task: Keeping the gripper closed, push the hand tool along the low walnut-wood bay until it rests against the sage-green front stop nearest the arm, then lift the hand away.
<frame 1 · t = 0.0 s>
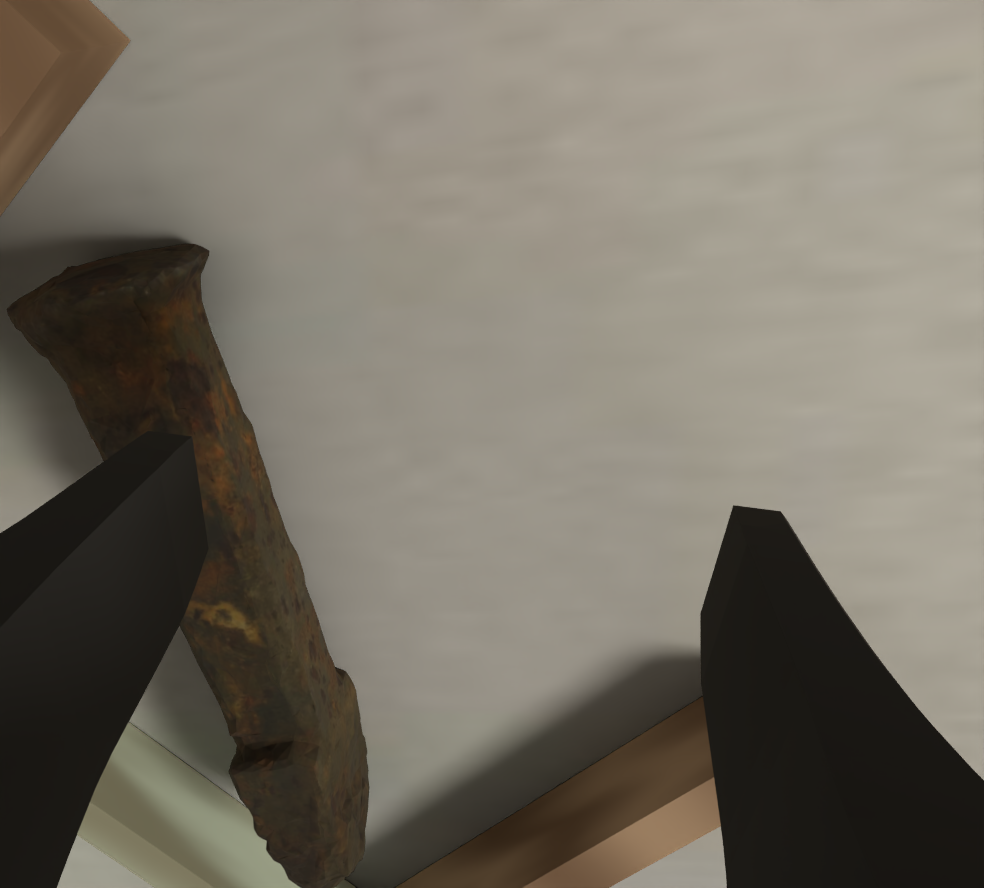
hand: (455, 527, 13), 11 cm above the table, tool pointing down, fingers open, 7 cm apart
bay: (263, 583, 27), on the table
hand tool: (289, 554, 27), on the table
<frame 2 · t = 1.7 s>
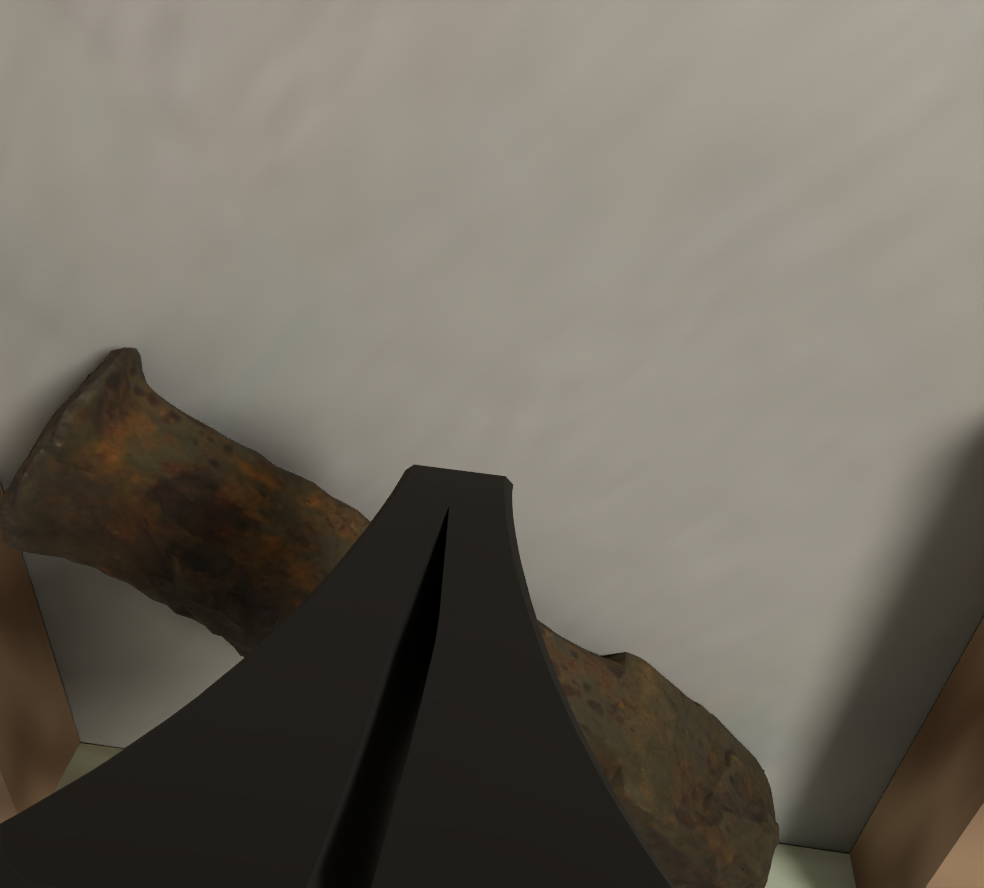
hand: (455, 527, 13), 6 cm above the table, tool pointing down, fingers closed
bay: (475, 615, 22), on the table
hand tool: (477, 572, 22), on the table
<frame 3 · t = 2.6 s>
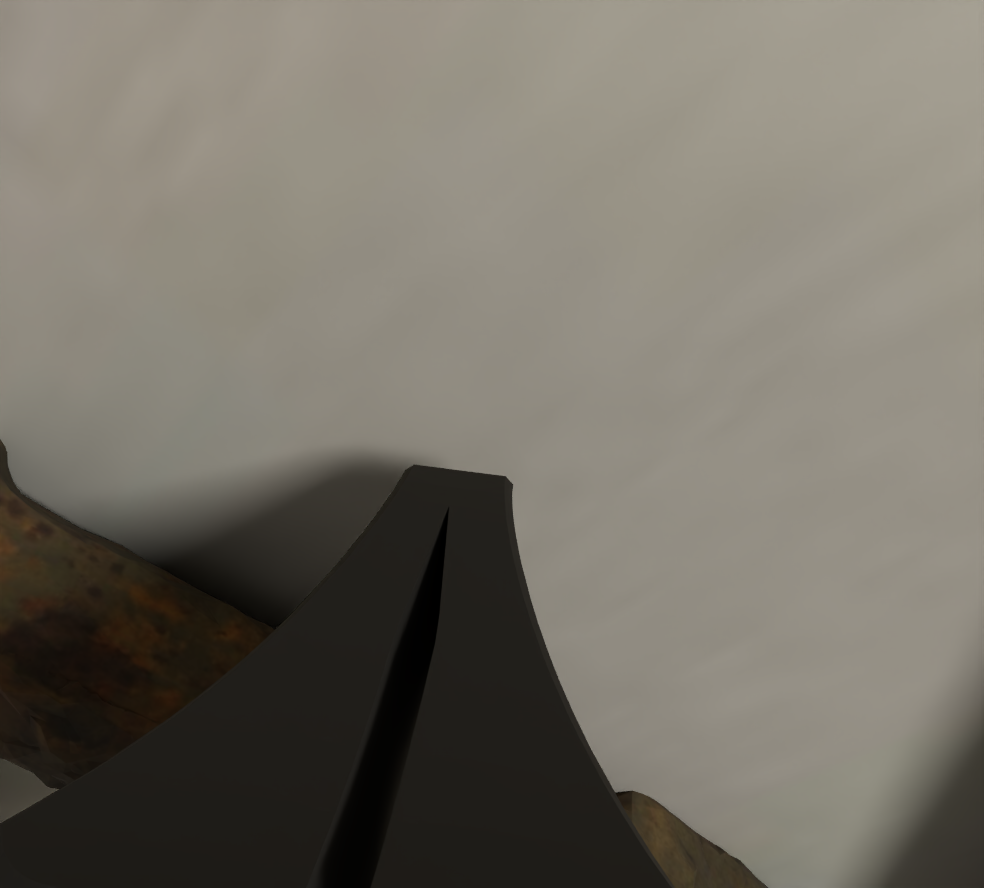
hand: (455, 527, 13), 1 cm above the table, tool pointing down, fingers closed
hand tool: (448, 697, 18), on the table
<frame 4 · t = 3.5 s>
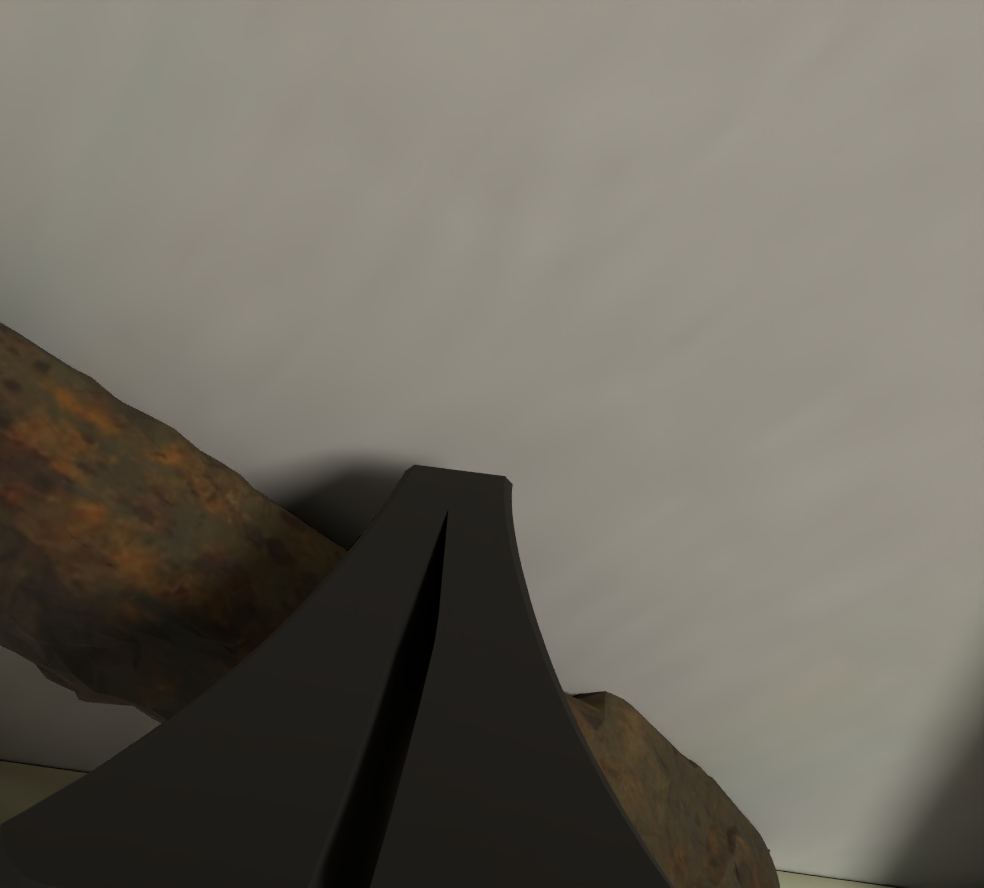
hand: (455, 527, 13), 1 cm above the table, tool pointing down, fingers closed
bay: (460, 564, 15), on the table
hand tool: (411, 572, 16), on the table
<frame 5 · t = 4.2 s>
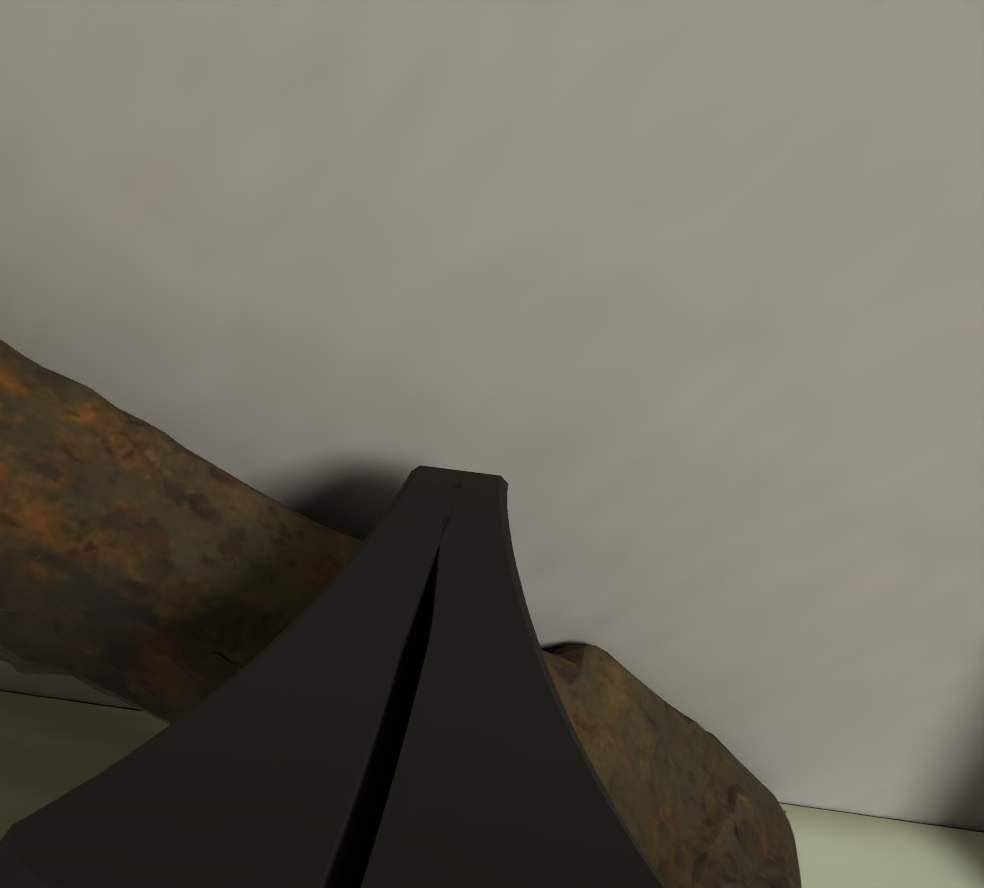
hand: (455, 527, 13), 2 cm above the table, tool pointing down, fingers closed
bay: (488, 447, 14), on the table
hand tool: (369, 531, 15), on the table, touching bay, gripper
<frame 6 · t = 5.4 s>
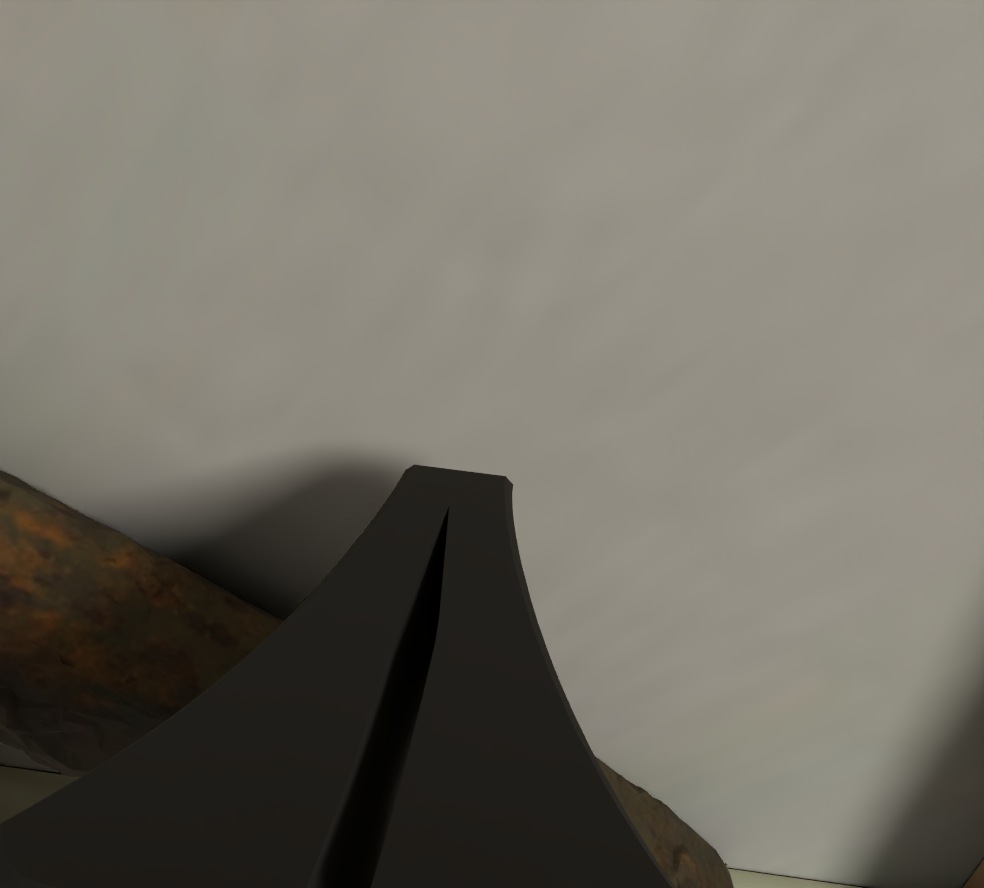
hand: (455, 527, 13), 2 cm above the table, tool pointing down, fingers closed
bay: (458, 585, 16), on the table
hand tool: (360, 635, 18), on the table
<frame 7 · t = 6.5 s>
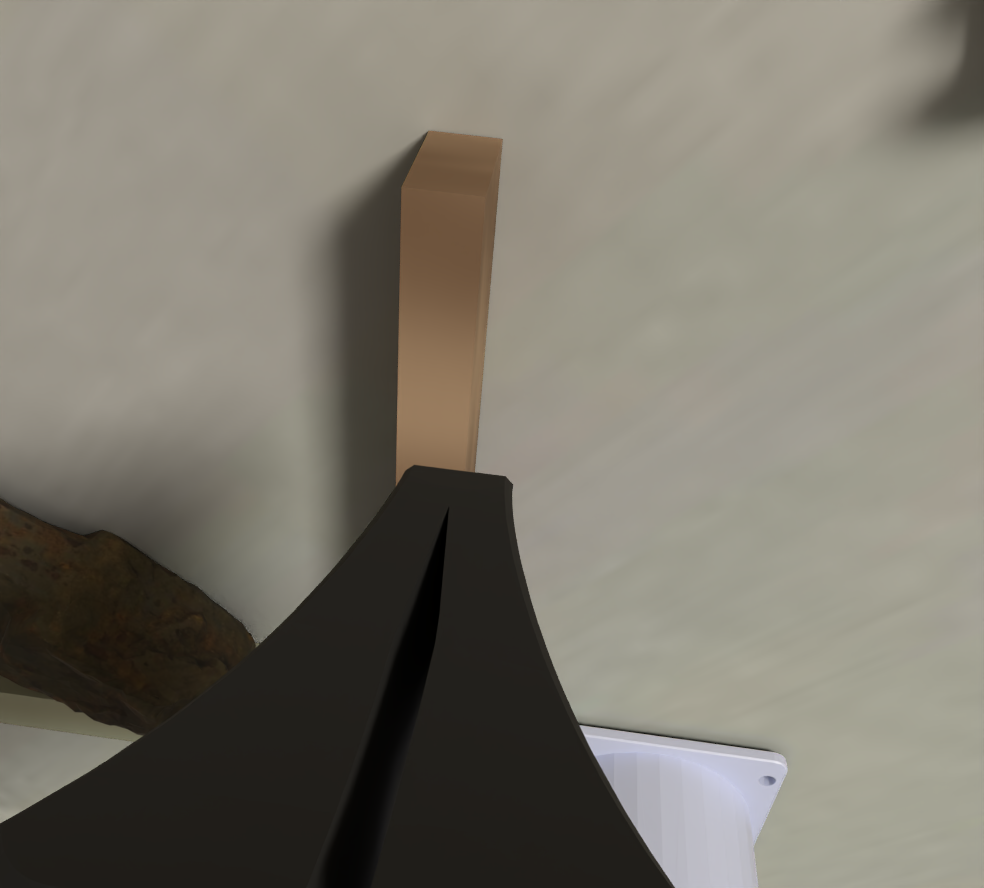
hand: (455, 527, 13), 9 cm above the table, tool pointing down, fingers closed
bay: (4, 422, 25), on the table
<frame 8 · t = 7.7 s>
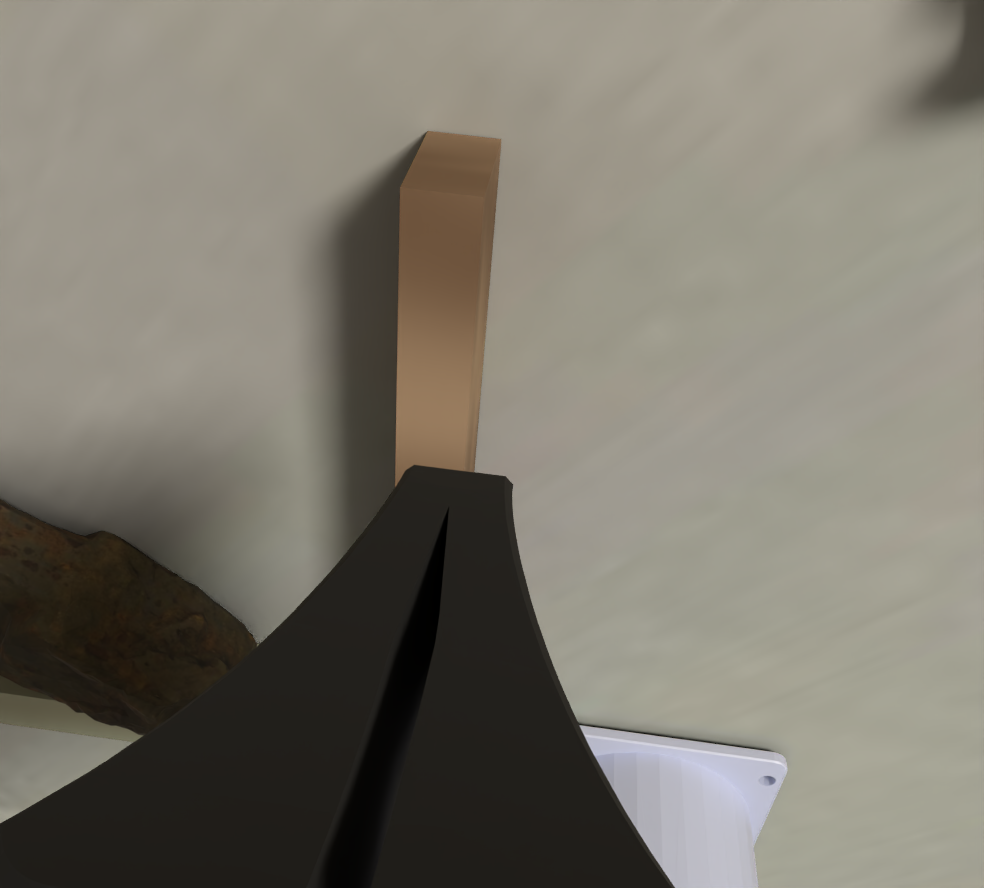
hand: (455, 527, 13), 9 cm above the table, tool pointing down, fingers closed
bay: (4, 423, 25), on the table
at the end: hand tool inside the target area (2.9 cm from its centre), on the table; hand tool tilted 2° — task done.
